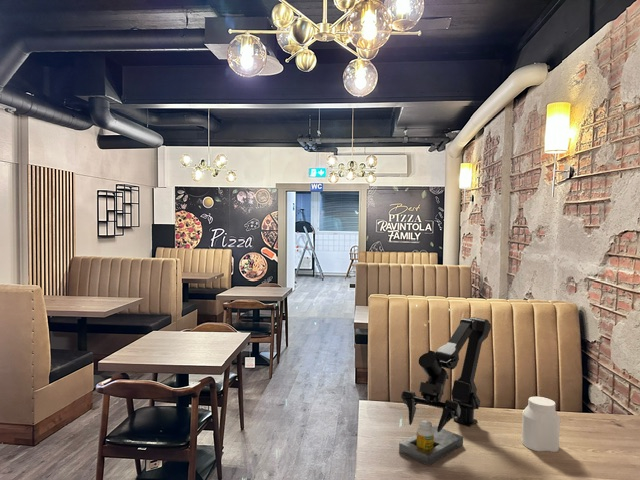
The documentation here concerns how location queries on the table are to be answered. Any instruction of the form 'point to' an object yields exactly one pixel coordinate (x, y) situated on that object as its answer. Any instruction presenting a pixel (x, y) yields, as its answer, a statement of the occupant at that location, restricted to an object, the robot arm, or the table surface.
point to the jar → (540, 425)
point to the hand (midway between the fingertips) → (423, 428)
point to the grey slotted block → (442, 446)
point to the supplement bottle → (425, 435)
